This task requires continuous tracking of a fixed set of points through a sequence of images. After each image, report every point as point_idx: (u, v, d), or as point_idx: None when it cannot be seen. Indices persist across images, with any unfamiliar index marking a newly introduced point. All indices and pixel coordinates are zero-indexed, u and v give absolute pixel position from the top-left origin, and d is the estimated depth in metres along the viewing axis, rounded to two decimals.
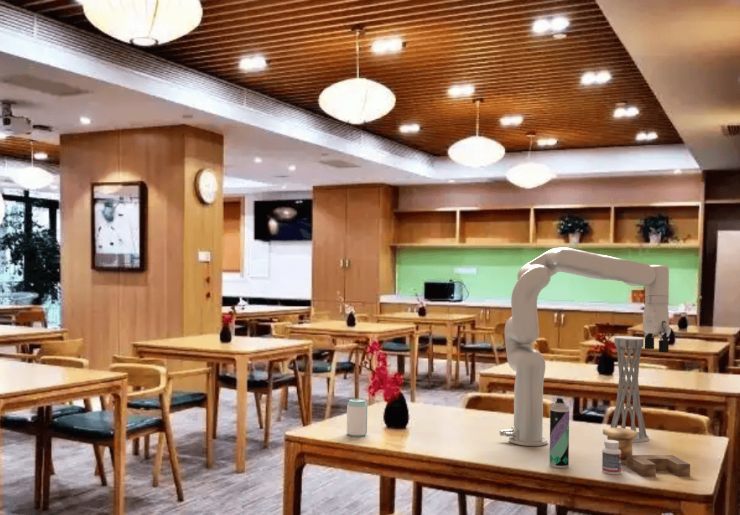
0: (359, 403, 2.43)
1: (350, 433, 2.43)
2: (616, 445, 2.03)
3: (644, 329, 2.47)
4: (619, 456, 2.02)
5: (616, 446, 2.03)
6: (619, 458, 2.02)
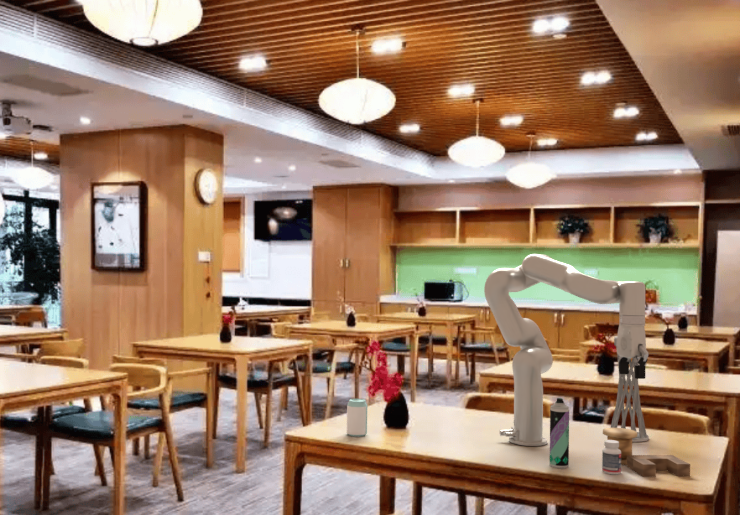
0: (359, 403, 2.43)
1: (350, 433, 2.43)
2: (616, 445, 2.03)
3: (618, 352, 2.22)
4: (619, 456, 2.02)
5: (616, 446, 2.03)
6: (619, 458, 2.02)
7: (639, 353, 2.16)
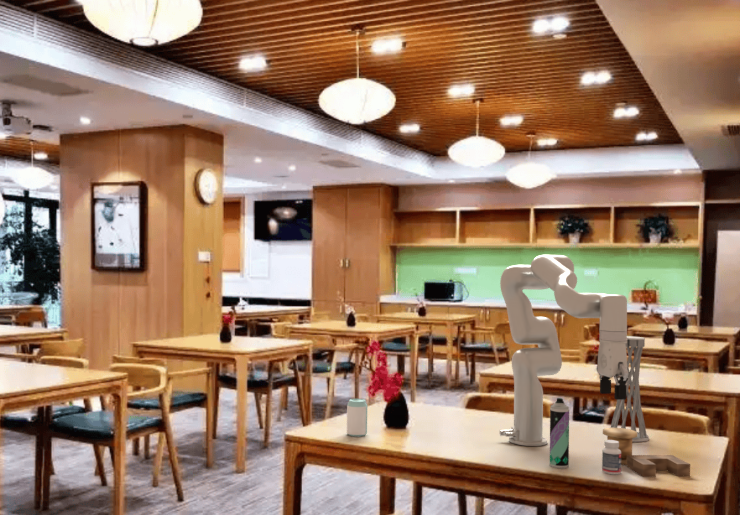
0: (359, 403, 2.43)
1: (350, 433, 2.43)
2: (616, 445, 2.03)
3: (599, 370, 2.08)
4: (619, 456, 2.02)
5: (616, 446, 2.03)
6: (619, 458, 2.02)
7: (620, 372, 2.02)
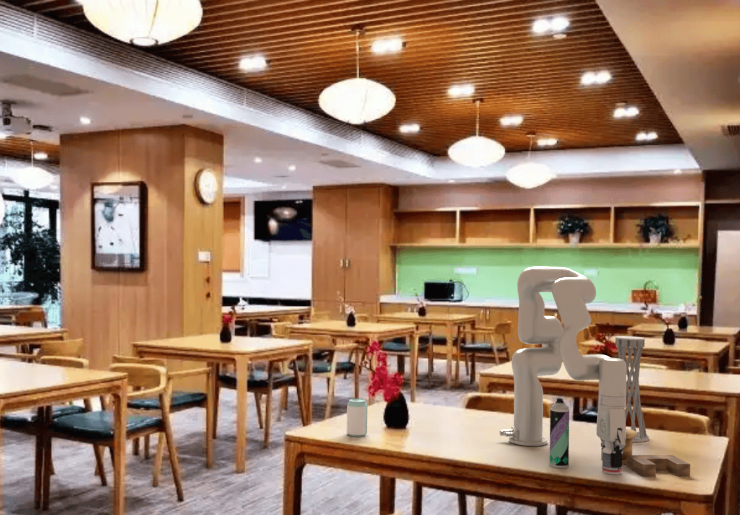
0: (359, 403, 2.43)
1: (350, 433, 2.43)
2: (616, 445, 2.03)
3: (598, 434, 2.07)
4: None
5: None
6: None
7: None
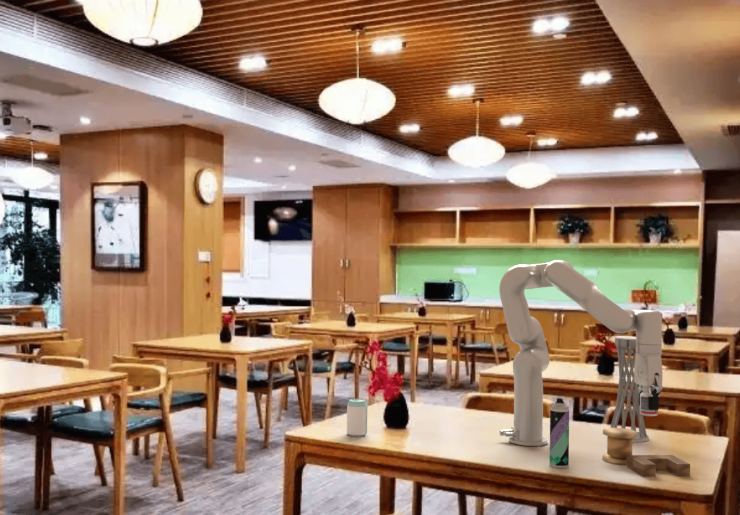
0: (359, 403, 2.43)
1: (350, 433, 2.43)
2: (653, 389, 2.20)
3: (635, 380, 2.24)
4: None
5: None
6: None
7: None
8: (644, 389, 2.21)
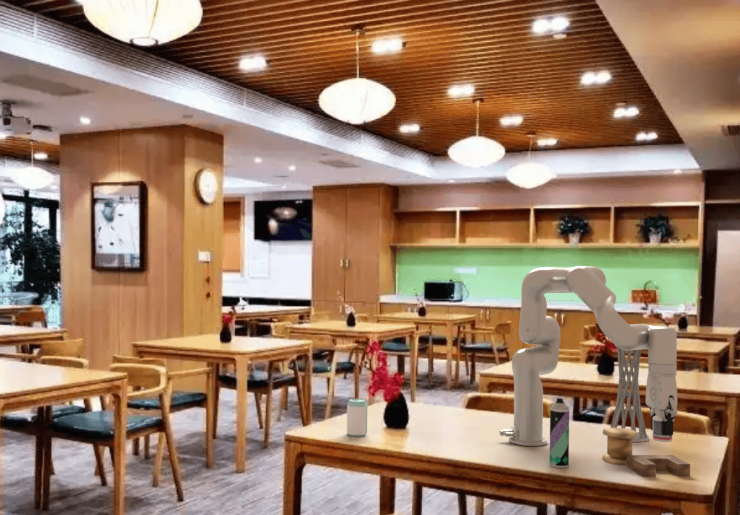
0: (359, 403, 2.43)
1: (350, 433, 2.43)
2: (667, 413, 2.02)
3: (647, 402, 2.07)
4: None
5: None
6: None
7: None
8: (657, 412, 2.03)
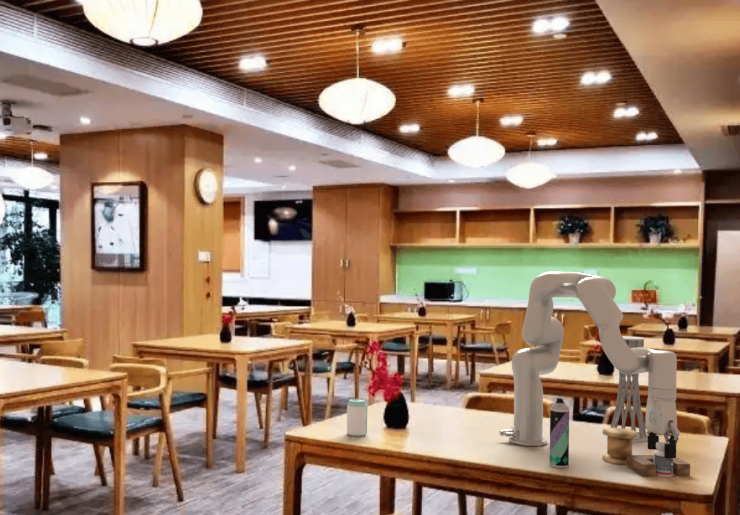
0: (359, 403, 2.43)
1: (350, 433, 2.43)
2: None
3: (647, 426, 2.07)
4: (671, 458, 2.01)
5: None
6: (671, 460, 2.01)
7: (669, 430, 2.01)
8: (658, 447, 2.02)
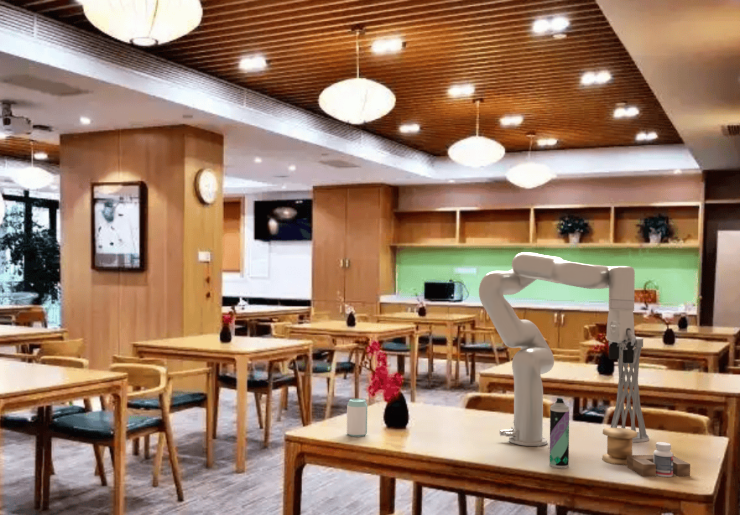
0: (359, 403, 2.43)
1: (350, 433, 2.43)
2: (668, 447, 2.01)
3: (608, 337, 2.23)
4: (671, 458, 2.01)
5: (668, 448, 2.01)
6: (671, 460, 2.01)
7: (628, 338, 2.17)
8: (658, 447, 2.02)
